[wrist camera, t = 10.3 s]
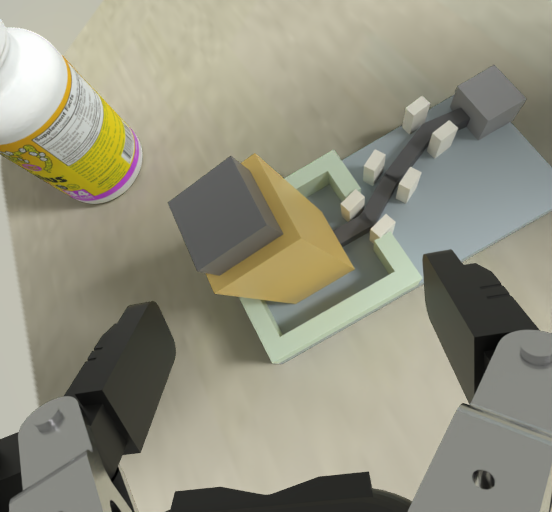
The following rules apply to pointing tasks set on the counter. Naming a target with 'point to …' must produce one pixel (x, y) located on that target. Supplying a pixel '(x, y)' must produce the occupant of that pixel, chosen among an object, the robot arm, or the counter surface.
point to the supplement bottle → (61, 122)
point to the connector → (257, 234)
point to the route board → (412, 206)
